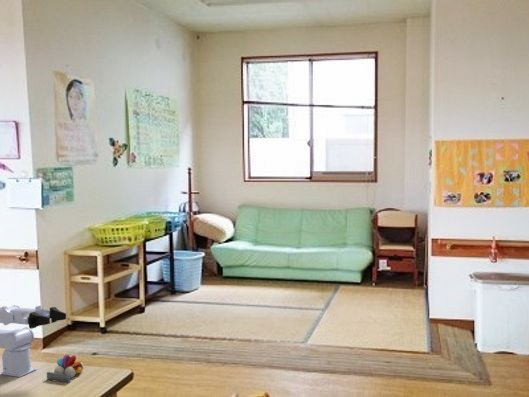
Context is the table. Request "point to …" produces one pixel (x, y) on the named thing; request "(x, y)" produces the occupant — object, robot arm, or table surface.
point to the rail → (58, 377)
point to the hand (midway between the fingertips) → (57, 318)
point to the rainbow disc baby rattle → (68, 366)
